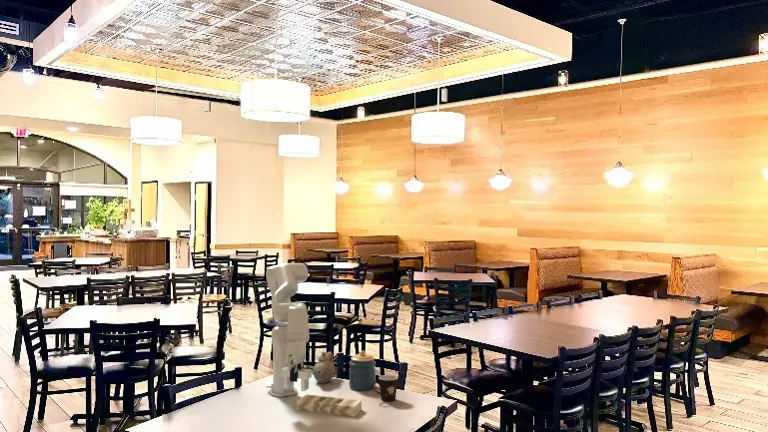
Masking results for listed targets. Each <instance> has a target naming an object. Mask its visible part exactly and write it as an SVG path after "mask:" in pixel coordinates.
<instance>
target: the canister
mask: <svg viewBox="0 0 768 432" xmlns="http://www.w3.org/2000/svg"><path fill="white" fill-rule="evenodd" d="M350 359H351V360H350V361H349V362H348V363H349V367H350V368H349V370H348V371H349V380H348V381H349V382H348V386H349V389H350V390H354V391H360V392H361V391H363V392H365V391H370V390H371V391H372V390H373V389H374V390H375V388H376V385H377V383H374V384H373V389H372V387H371V385H372V383H373V382H375V381H377V379H376V375H377V373H376V371H377V369H376V364H377V363H376V361H375V357H374V356H373V355H372V354H369V353H366V351H365V350H361V351H359V353H357V354H354V355H353V356H351V357H350Z"/></svg>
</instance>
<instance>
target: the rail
mask: <svg viewBox="0 0 768 432" xmlns="http://www.w3.org/2000/svg"><path fill="white" fill-rule="evenodd" d="M362 401H363V400H360V399H350V398H341V397H333V396H331V397H330V396H326V395H325V396H324V395H314V394H305V395H304V396H302V397H300V398H299V399H297V400H296V410H297V411H303V412H313V413H318V414H319V413H321V414H328V415H338V416H345V417H352V418H353V417H355V416H357V415H358V413H360V412H361V411H362V406H363V405H362Z"/></svg>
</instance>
